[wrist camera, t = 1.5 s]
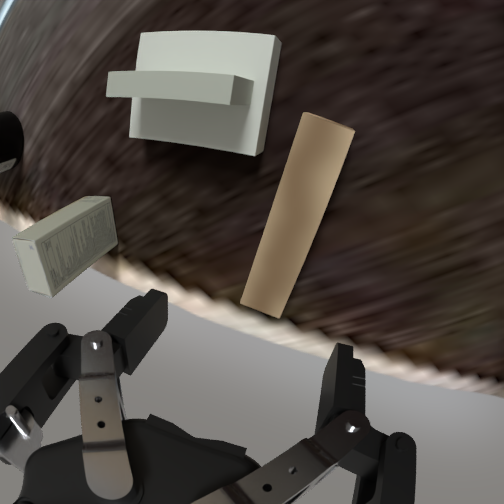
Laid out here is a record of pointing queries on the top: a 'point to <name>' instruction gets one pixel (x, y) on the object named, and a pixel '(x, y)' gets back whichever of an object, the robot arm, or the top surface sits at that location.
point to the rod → (296, 211)
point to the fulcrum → (201, 88)
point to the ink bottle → (10, 140)
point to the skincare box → (65, 244)
